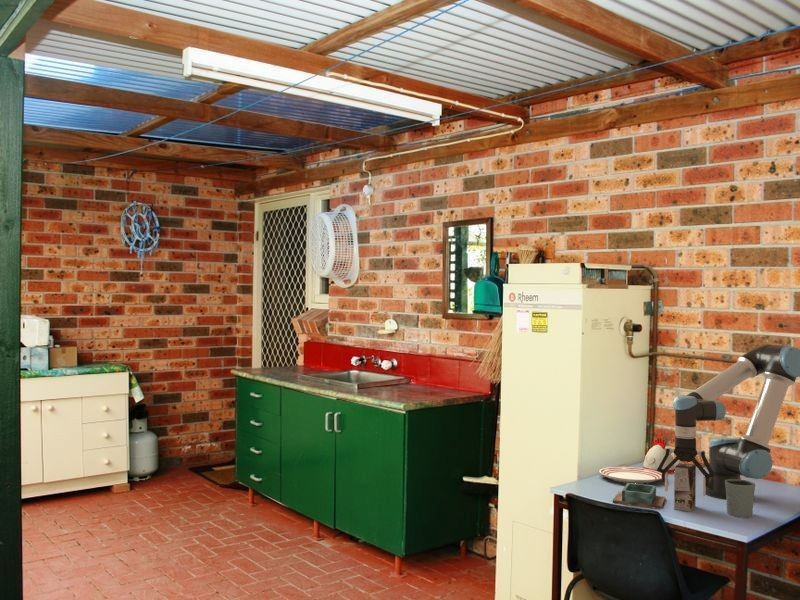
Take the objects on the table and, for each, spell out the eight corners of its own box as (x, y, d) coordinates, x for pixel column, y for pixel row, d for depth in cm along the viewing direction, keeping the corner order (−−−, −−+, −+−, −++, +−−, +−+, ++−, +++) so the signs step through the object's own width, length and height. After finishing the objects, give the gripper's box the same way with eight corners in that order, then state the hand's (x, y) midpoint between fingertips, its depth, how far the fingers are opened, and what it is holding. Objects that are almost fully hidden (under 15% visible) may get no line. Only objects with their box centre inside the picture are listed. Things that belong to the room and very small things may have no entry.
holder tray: (665, 499, 294) (665, 486, 294) (661, 508, 280) (661, 495, 280) (618, 493, 301) (618, 481, 301) (612, 502, 288) (612, 489, 288)
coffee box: (691, 512, 276) (691, 468, 276) (673, 509, 279) (673, 466, 279) (696, 506, 284) (696, 464, 284) (678, 503, 287) (678, 462, 287)
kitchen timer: (658, 474, 335) (658, 441, 335) (636, 468, 348) (637, 436, 348) (681, 472, 341) (681, 439, 341) (659, 466, 354) (659, 434, 354)
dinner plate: (601, 470, 344) (601, 463, 344) (664, 475, 335) (664, 468, 335) (596, 484, 318) (596, 476, 318) (664, 489, 309) (664, 482, 309)
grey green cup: (722, 515, 272) (723, 482, 272) (726, 509, 280) (727, 477, 280) (753, 520, 266) (753, 486, 266) (756, 513, 275) (756, 481, 275)
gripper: (650, 435, 283) (649, 491, 283) (720, 441, 273) (720, 499, 273) (652, 432, 290) (651, 486, 290) (721, 438, 280) (721, 494, 280)
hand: (685, 492), depth 281 cm, fingers open, 13 cm apart
